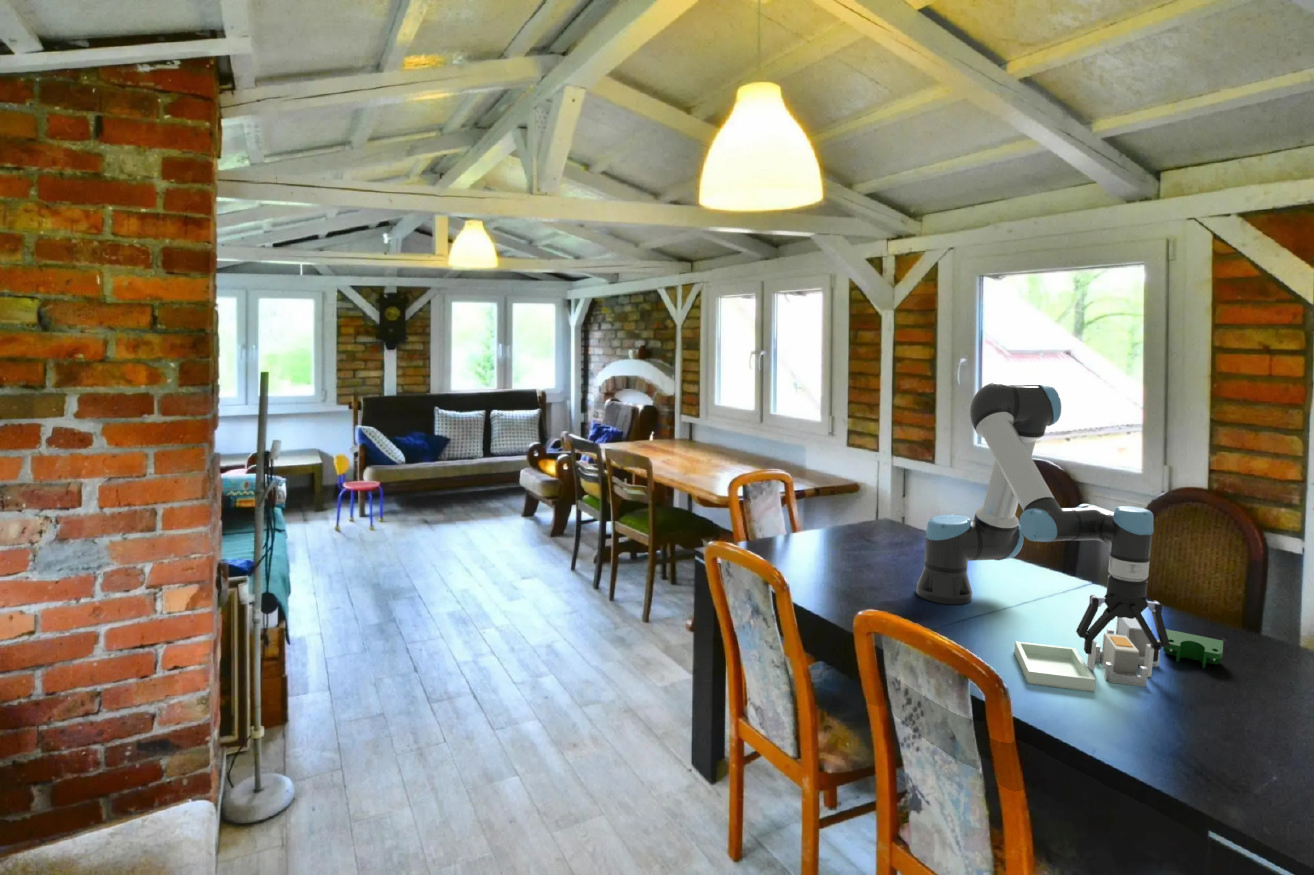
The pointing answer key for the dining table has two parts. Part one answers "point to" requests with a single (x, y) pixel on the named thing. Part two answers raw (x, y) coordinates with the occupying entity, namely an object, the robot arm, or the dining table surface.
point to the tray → (1054, 666)
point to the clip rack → (1125, 678)
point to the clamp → (1194, 647)
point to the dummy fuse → (1133, 633)
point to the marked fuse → (1120, 654)
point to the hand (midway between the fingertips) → (1118, 670)
